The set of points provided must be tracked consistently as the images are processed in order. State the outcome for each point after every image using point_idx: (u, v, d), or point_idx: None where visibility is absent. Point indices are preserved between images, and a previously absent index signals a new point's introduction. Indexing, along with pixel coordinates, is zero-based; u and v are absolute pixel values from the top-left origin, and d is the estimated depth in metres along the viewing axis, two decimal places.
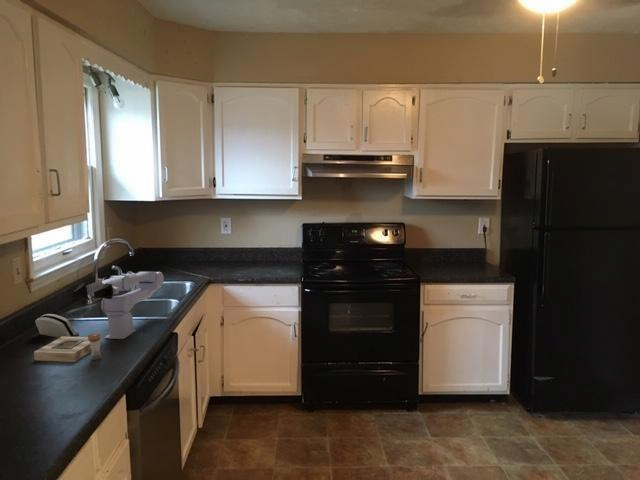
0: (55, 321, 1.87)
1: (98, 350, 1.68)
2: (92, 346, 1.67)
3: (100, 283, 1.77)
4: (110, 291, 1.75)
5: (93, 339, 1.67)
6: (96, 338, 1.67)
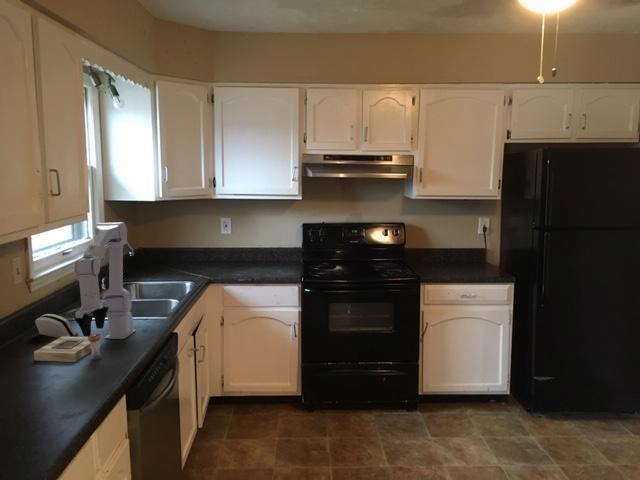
0: (54, 321, 1.87)
1: (98, 350, 1.68)
2: (92, 346, 1.67)
3: None
4: None
5: (93, 339, 1.67)
6: (96, 338, 1.67)
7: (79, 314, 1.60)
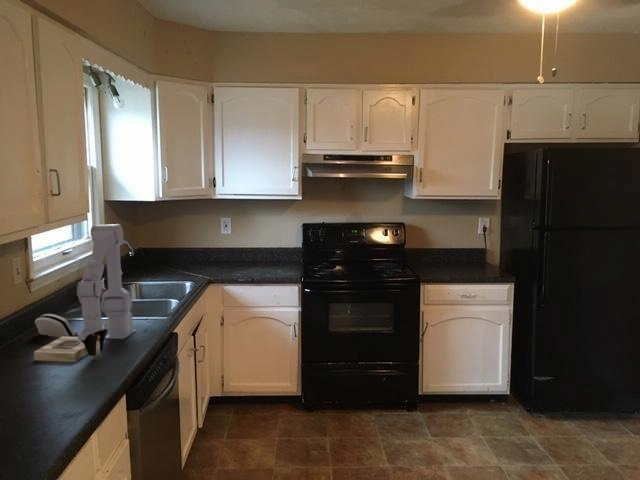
0: (54, 321, 1.87)
1: (98, 350, 1.68)
2: None
3: None
4: None
5: None
6: None
7: (81, 336, 1.61)
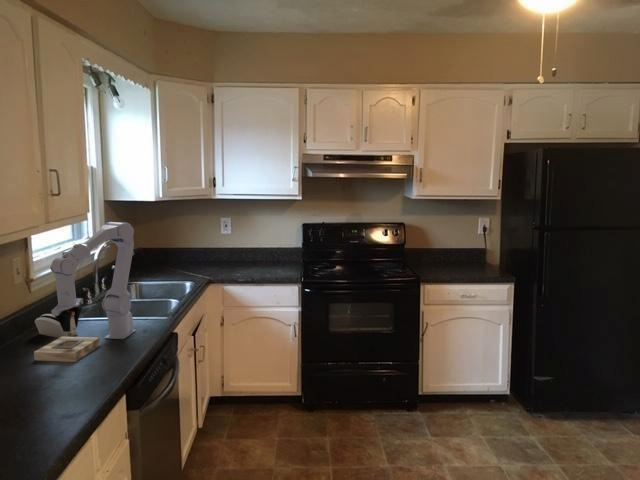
0: (54, 321, 1.87)
1: (73, 326, 1.72)
2: None
3: None
4: None
5: None
6: None
7: (55, 312, 1.64)
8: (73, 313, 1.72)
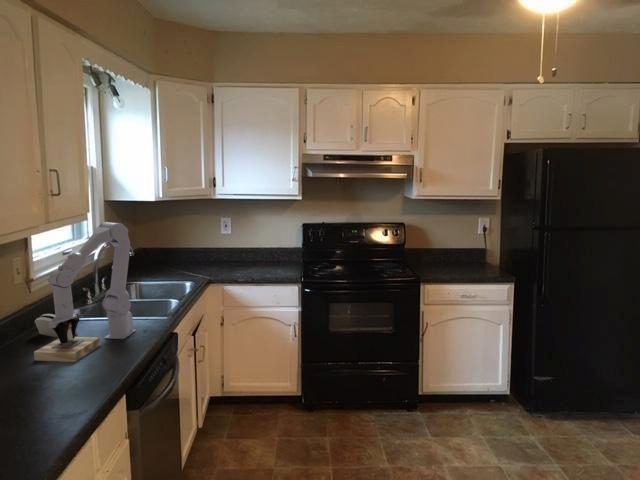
0: None
1: (70, 338, 1.74)
2: None
3: None
4: None
5: None
6: None
7: (52, 324, 1.66)
8: (70, 325, 1.73)
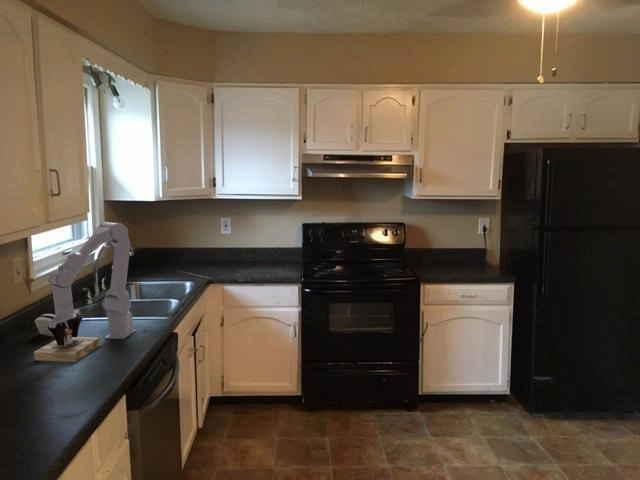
0: None
1: (70, 344, 1.74)
2: (64, 340, 1.73)
3: None
4: None
5: (65, 333, 1.73)
6: (67, 332, 1.73)
7: (52, 324, 1.66)
8: (70, 330, 1.74)
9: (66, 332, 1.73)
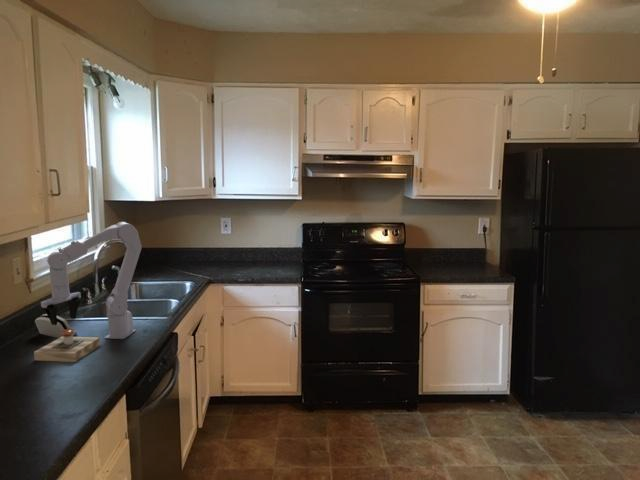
0: None
1: (71, 345, 1.74)
2: (65, 341, 1.73)
3: None
4: None
5: (66, 334, 1.72)
6: (69, 333, 1.72)
7: (43, 304, 1.72)
8: (72, 332, 1.73)
9: (68, 333, 1.72)
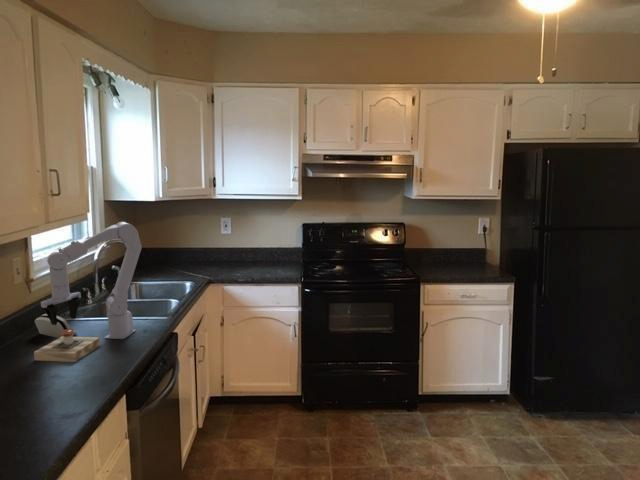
0: None
1: (71, 345, 1.74)
2: (65, 341, 1.73)
3: None
4: None
5: (66, 334, 1.72)
6: (69, 333, 1.73)
7: (43, 304, 1.72)
8: (72, 332, 1.73)
9: (67, 333, 1.72)
